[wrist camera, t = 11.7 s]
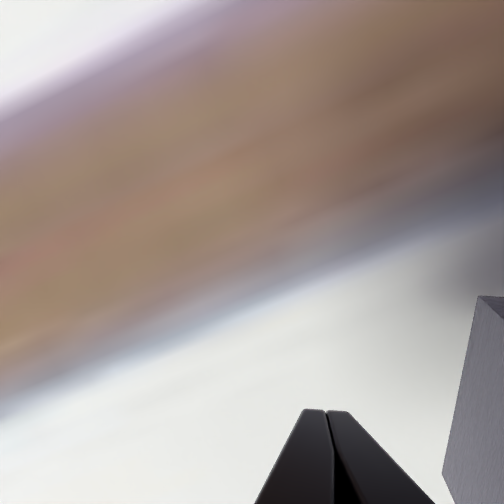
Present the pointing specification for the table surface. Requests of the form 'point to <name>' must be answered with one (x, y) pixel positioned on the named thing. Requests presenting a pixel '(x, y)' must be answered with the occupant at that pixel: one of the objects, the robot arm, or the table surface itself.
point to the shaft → (479, 413)
